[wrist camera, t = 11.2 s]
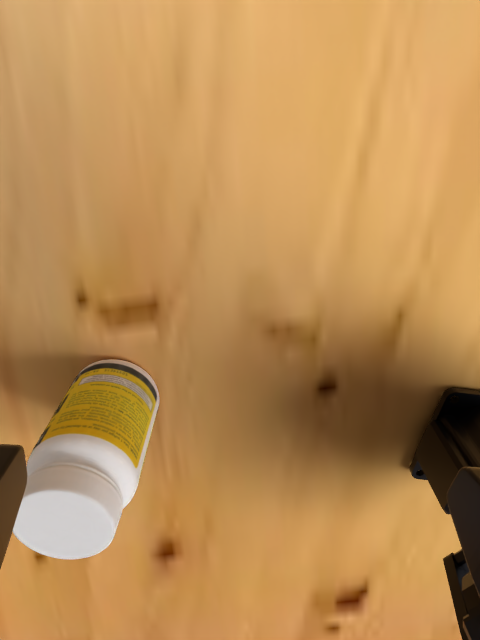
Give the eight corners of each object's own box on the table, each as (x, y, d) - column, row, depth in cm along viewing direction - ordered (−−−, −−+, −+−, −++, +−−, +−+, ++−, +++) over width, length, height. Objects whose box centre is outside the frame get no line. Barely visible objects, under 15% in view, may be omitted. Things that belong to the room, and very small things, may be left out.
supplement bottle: (69, 354, 22) (-15, 478, 15) (159, 358, 23) (120, 483, 15) (79, 425, 25) (9, 565, 17) (161, 428, 25) (128, 569, 17)
